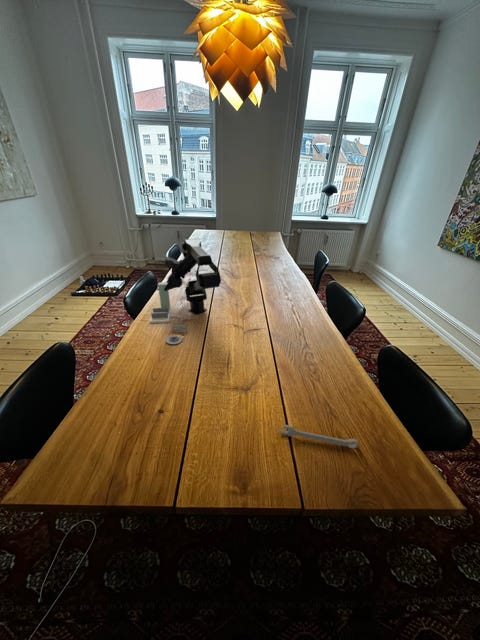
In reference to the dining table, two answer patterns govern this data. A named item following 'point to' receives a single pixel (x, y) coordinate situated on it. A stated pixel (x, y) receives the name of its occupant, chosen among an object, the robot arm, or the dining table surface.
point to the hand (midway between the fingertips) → (165, 286)
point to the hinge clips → (160, 315)
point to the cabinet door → (163, 295)
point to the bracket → (177, 339)
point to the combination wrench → (318, 437)
